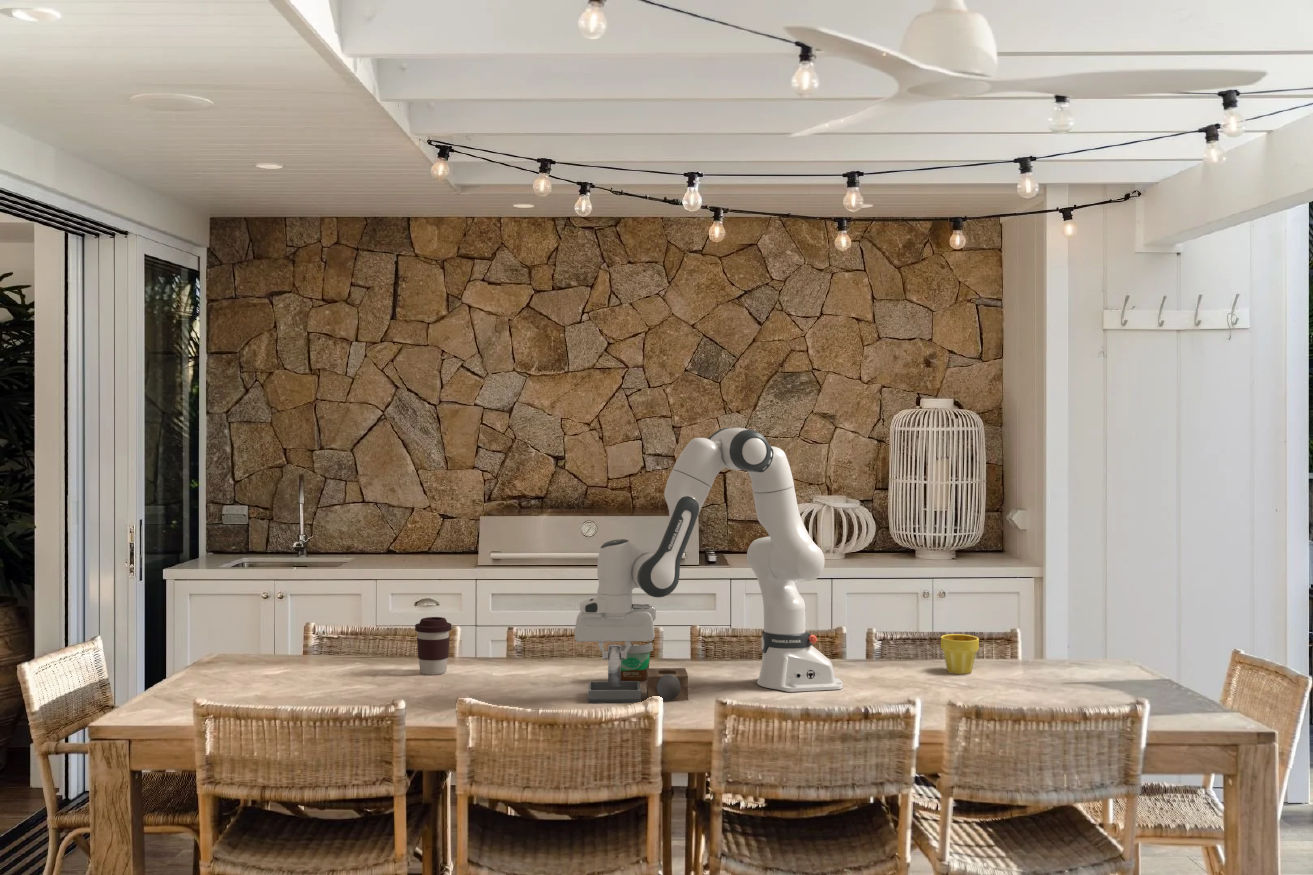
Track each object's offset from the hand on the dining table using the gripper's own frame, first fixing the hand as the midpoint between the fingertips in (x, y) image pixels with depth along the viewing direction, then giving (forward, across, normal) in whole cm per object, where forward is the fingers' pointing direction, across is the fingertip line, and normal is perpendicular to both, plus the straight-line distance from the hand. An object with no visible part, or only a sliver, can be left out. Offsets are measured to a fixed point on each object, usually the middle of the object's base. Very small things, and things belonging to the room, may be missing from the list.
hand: (614, 658), depth 303 cm
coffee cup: (+10, +50, -32) cm, 60 cm away
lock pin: (+7, 0, 0) cm, 7 cm away
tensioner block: (+10, -14, -2) cm, 17 cm away
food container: (+10, -6, -20) cm, 23 cm away
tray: (+10, 0, 0) cm, 10 cm away
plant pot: (+10, -98, -29) cm, 102 cm away
